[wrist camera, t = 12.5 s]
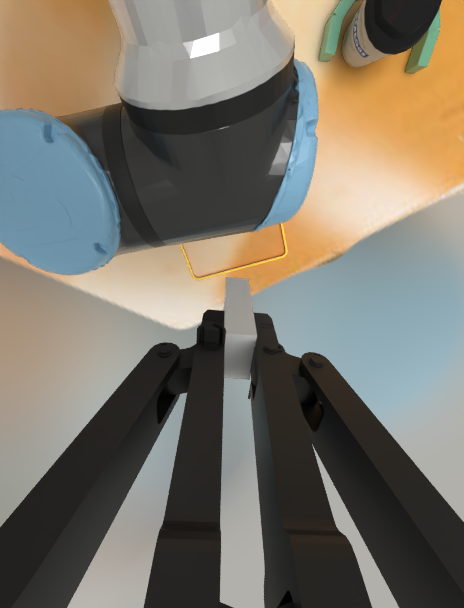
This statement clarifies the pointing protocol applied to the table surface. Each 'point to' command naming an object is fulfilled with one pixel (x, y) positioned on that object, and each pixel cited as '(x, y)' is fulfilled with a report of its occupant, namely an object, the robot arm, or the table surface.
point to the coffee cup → (386, 29)
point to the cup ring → (418, 54)
